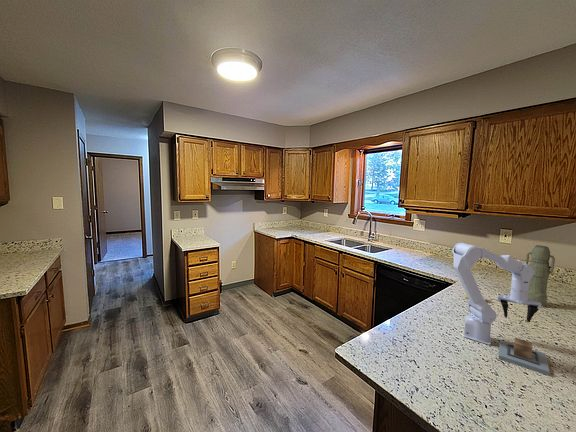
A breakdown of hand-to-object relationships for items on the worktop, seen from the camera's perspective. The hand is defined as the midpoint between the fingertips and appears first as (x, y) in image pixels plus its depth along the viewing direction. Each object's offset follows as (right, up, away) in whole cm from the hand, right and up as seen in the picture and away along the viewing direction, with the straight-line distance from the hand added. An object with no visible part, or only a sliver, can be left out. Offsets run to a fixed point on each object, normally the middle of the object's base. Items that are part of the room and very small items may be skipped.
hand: (516, 319), depth 114 cm
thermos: (+46, -7, +39) cm, 61 cm away
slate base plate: (-9, -10, -13) cm, 19 cm away
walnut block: (-9, -9, -13) cm, 18 cm away
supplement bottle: (+11, -6, +44) cm, 46 cm away
